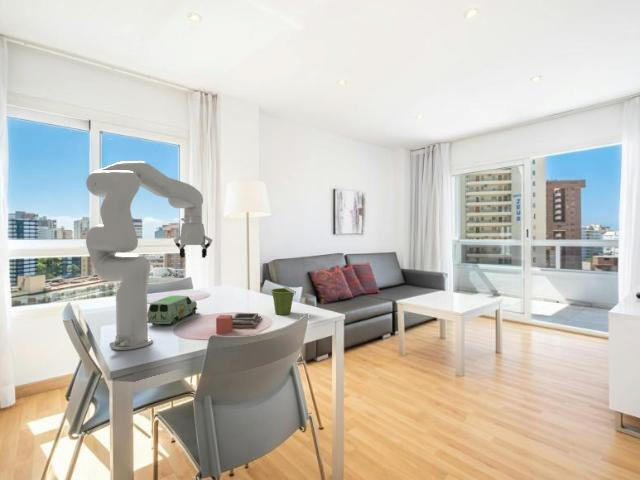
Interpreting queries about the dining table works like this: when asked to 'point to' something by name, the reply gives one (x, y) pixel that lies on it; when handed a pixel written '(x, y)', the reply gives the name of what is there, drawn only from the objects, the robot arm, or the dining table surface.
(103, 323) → the dining table surface
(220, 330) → the red block
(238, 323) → the board
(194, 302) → the toy car
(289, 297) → the plant pot
